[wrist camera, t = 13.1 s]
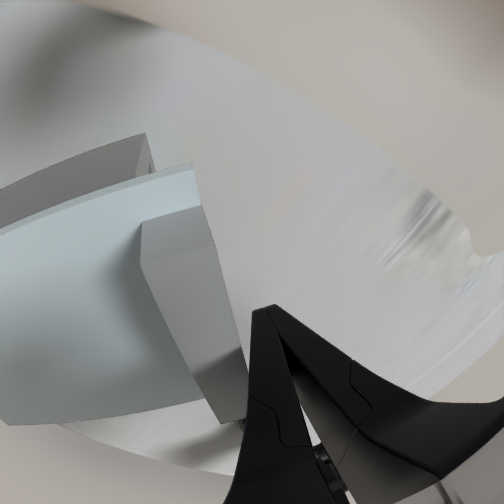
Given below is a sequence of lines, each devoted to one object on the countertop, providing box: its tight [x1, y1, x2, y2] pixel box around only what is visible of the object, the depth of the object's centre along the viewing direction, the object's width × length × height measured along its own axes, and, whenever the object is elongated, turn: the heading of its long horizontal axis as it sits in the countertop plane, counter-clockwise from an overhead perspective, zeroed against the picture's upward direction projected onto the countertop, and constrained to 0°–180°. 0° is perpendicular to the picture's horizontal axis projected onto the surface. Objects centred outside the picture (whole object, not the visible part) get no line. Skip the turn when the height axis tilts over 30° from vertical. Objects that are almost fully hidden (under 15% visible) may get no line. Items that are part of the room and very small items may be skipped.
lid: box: [0, 163, 249, 425], centre depth 8 cm, size 10×14×3 cm
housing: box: [0, 133, 155, 229], centre depth 12 cm, size 10×14×6 cm
